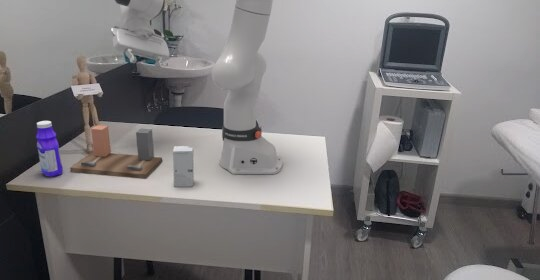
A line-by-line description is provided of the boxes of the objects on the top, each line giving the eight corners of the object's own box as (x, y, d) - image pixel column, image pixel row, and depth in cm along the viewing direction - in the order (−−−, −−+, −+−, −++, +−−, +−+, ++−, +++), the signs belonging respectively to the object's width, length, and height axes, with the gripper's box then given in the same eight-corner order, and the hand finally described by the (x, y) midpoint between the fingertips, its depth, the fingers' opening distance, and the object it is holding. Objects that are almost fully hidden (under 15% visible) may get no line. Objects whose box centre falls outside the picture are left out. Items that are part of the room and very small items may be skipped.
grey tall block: (154, 156, 144) (152, 129, 140) (149, 160, 140) (147, 133, 136) (143, 155, 144) (140, 128, 140) (138, 159, 140) (136, 132, 137)
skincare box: (173, 187, 126) (171, 151, 122) (174, 180, 130) (173, 145, 126) (193, 186, 127) (192, 151, 123) (194, 180, 131) (193, 145, 127)
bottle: (39, 172, 133) (29, 121, 126) (57, 167, 137) (49, 117, 130) (47, 179, 128) (38, 127, 122) (66, 174, 132) (58, 123, 126)
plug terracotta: (111, 152, 145) (108, 126, 142) (105, 156, 142) (102, 129, 138) (100, 151, 146) (97, 125, 142) (94, 155, 142) (91, 128, 138)
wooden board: (162, 161, 144) (162, 154, 143) (146, 178, 131) (145, 171, 130) (93, 155, 147) (92, 148, 146) (70, 171, 134) (69, 164, 133)
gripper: (114, 19, 135) (122, 52, 130) (167, 34, 150) (175, 65, 145) (106, 30, 138) (113, 63, 133) (158, 45, 153) (166, 75, 149)
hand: (146, 64), depth 139 cm, fingers open, 8 cm apart
